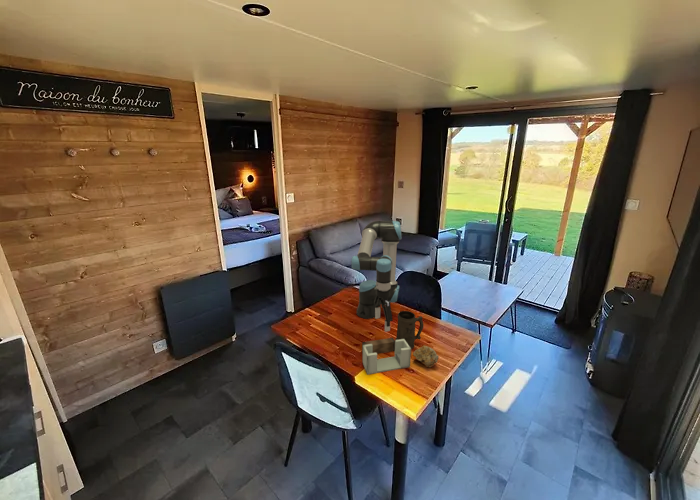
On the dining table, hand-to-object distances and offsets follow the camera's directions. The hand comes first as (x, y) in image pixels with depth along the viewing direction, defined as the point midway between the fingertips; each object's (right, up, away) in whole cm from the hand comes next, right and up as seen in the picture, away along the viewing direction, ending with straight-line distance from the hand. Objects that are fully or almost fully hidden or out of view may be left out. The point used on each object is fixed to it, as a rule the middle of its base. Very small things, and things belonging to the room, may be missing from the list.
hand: (382, 324), depth 162 cm
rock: (+22, -20, -5) cm, 30 cm away
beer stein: (+17, -14, +11) cm, 25 cm away
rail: (-1, -16, +5) cm, 17 cm away
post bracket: (+1, -20, -6) cm, 21 cm away
